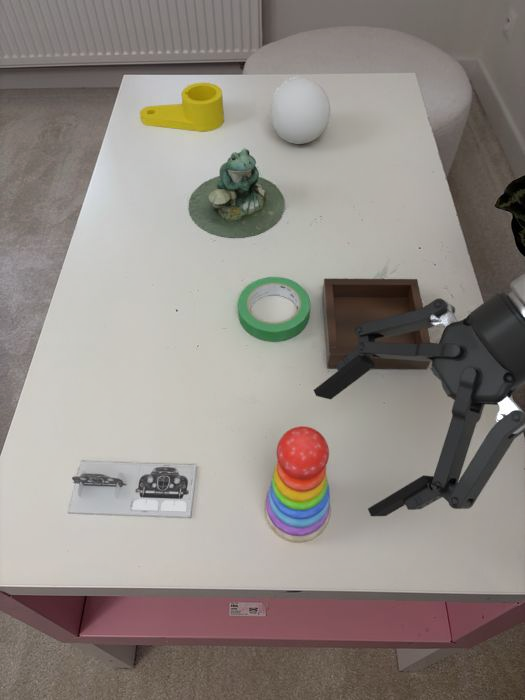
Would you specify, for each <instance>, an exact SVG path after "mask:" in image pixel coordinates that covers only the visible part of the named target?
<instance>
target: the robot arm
mask: <svg viewBox="0 0 525 700" xmlns="http://www.w3.org/2000/svg"><path fill="white" fill-rule="evenodd" d="M510 289H511V291H510V292H509V293H507V292H506V291H502V292H501V291H498V292H497V293H496V294H494V295H493V296H490V297H489V298H488V299H487V300H486V301H483V303H481V304H480V305H479V306H477V307H476V308H475V309H474V310H472V311H471V312H470V313H469V314H468V315H467V316H466V317H465V318H464V319H461V320H458V318H457V317H456V315H455V314H456V308H455V306H453V305H452V304H450V303H449V302H448V301H446V300H444V299H443V298H436V299H434V300H432V301H430V302H429V303H428V304H426V305H424V306H423V308H421V309H419V310H415V311H411V312H407V313H403V314H399V315H395V316H391V317H387V318H383V319H379V320H375V321H371V322H367V323H363V324H359V325H357V326H356V327H355V330H354V332H355V334H356V335H357V336H358V345H357V347H356V349H355V350H353V351H352V352H351V353H349V354H348V355H347V356H346V357H344V358H343V359H342V360H341V361H339V362H338V364H337V366H336V367H337V371H336V372H334V374H332V375H331V376H329V377H327V379H325V380H324V381H323V382H322V383H320V385H318V386H316V387H315V388H314V389H313V393H314V395H315V396H316V397H319V398H323V399H327V400H332V399H333V398H335V397H336V396H338V395H339V394H340V393H342V392H343V391H345V390H346V389H347V388H348V387H349V386H351V385H352V384H353V383H355V382H356V381H357V380H359V379H360V378H361V377H363V376H364V375H365V374H367V373H368V372H369V371H371V370H373V369H372V368H373V367H374V366H375V364H374V362H373V360H371V359H370V358H371V357H373V358H375V359H377V358H387V359H402V360H416V361H428V362H430V363H431V368H430V371H431V372H432V374H433V375H434V376H435V377H436V378H437V379H438V380H439V381H440V383H441V386H442V390H443V391H444V393H445V395H446V396H447V397H448V398H451V399H452V400H453V405H452V408H451V414H452V416H451V419H450V422H449V426H448V429H447V432H446V435H445V439H444V442H443V445H442V447H441V452H440V454H439V457H438V461H437V463H436V464H437V465H436V467H435V471H434V474H433V475H425V474H424V475H422V476H420V477H418V478H416V479H414V480H413V481H411V482H410V483H408V484H406V485H405V486H403V487H401V488H400V489H398V490H396V491H395V492H393V493H391V494H390V495H389V496H387V497H384V498H383V499H382V500H379V501H378V502H376V503H375V504H373V505H371V506H370V507H368V508H367V511H368V513H369V515H370V517H387V516H389V515H390V514H392V513H393V512H395V511H397V510H399V509H401V508H402V507H404V506H405V507H406V509H407V510H408V511H412V510H413V511H416V510H422V509H424V508H426V507H428V506H429V505H431V504H433V503H434V502H436V501H438V500H440V499H444V500H445V501H446V502H447V503H448V505H449V507H450V508H452V509H454V510H469V509H471V508H472V507H473V506H474V505H475V503H476V501H477V500H478V498H479V496H480V495H481V493H482V492H483V490H484V488H485V487H486V485H487V484H488V482H489V481H490V478H491V477H492V476H493V474H494V472H495V471H496V469H497V468H498V466H499V465H500V463H501V462H502V459H503V458H504V457H505V455H506V453H507V452H508V450H509V449H510V447H511V445H512V444H513V442H514V440H515V439H516V438H518V437H520V435H522V434H524V432H525V411H524V410H523V409H522V408H521V407H520V406H519V404H517V403H516V402H515V400H514V399H513V398H512V396H513V394H514V393H515V391H516V390H517V389H519V388H520V387H521V386H523V385H525V272H524V273H522V274H521V275H519V276H518V277H517V278H515V279H514V280H512V281H511V282H510ZM433 327H436V328H438V329H439V328H444V329H443V331H442V334H441V336H440V339H439V341H438V343H434V342H433V343H432V342H430V343H418V344H411V343H389V342H375V340H377V339H381V338H386V337H390V336H395V335H399V334H404V333H408V332H413V331H417V330H422V329H426V328H428V329H430V328H433ZM485 405H491V406H492V405H494V406H498V407H499V410H498V412H497V413H496V415H495V421H496V423H495V424H494V425H493V426H492V428H491V429H490V430H489V432H488V433H487V434H486V436H485V438H484V439H483V440H482V443H481V444H480V446H479V448H478V449H477V450H476V452H475V454H474V456H473V457H472V459H471V460H470V462H469V464H468V466H467V467H466V469H465V470H464V472H463V474H462V471H463V468H464V464H465V462H466V458H467V455H468V452H469V448H470V445H471V442H472V439H473V436H474V433H475V429H476V425H477V423H479V421H480V420H481V418H482V415H483V412H484V408H485Z"/></svg>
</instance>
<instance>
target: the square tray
mask: <svg viewBox="0 0 525 700" xmlns="http://www.w3.org/2000/svg"><path fill="white" fill-rule="evenodd" d="M321 295H322V309H323V324H324V341H325V355H326V356H325V357H326V369H327V370H328V369H331V370H332V369H334V370H335V369H337V367H336V366H337V364H338V362H339V361H341V360H342V359H343V358H344V357H346V356H347V355H348V354H349V353H351V352H352V351H353V350H355V349H356V347H357V345H358V336H357V335H356V334H355V332H354V330H355V327H356V326H357V325H359V324H363V323H367V322H371V321H375V320H379V319H383V318H387V317H391V316H395V315H399V314H403V313H407V312H411V311H415V310H419V309H421V308H423V307H424V306H423V305H424V304H423V299H422V295H421V291H420V286H419V281H418V279H417V278H324V279H323V285H322V294H321ZM375 342H389V343H411V344H418V343H431V338H430V334H429V328H426V329H422V330H417V331H413V332H408V333H404V334H399V335H395V336H390V337H386V338H381V339H377V340H375ZM370 359H371V360H373V362H374V364H375V366H374V367H373V368H372V369H371V370H428V368H429V365H430V363H431V362H428V361H416V360H402V359H387V358H377V359H375V358H373V357H371V358H370ZM337 370H338V369H337Z"/></svg>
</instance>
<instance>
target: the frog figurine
mask: <svg viewBox="0 0 525 700" xmlns="http://www.w3.org/2000/svg"><path fill="white" fill-rule="evenodd" d="M256 164H257V161H256V158H255V157H254V156H252V155H251V154H250V150H249V149H247V148H246V147H244V148H242V149H241V150H240V152H237V151H234V152H232V153H231V154H230V157H229V158H227V161H226V162H225V163H223V164H221V166H220V168H219V175H217V176H215V177H213V178H210V179H208V180H207V181H203V183H201V184H200V185H198V187H196V189H195V190H194V191H193V192H192V193H191V195H190V197H189V199H188V213H189V216H190V218H191V219H192V221H193V222H194V224H196V225H197V227H199V228H200V229H202V230H203V231H205V232H207V233H209V234H212V235H215V236H218V237H221V238H222V237H223V238H230V239H232V238H233V239H241V238H249V237H252V236H257V235H259V234H262V233H264V232H266V231H267V230H269V229H271V228H272V227H274V226H275V225H276V224H277V223H278V222H279V221H280V219H281V218H282V216H283V214H284V213H285V212H284V211H285V207H286V202H285V198H284V194H283V193H282V192H281V190H280V189H279V188H278V187H277V186H276V185H275V184H274V183H273V182H271V181H270V180H268V179H266V178H265V177H262V176H260V171H259V170H258V167H257V166H256Z"/></svg>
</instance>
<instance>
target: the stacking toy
mask: <svg viewBox="0 0 525 700" xmlns="http://www.w3.org/2000/svg"><path fill="white" fill-rule="evenodd" d="M329 457H330V449H329V445H328V443H327V441H326V439H325V437H324V436H323V434H322V433H320V431H318V430H317V429H315V428H312V427H310V426H306V425H305V426H303V425H301V426H295V427H292V428H290V429H289V430H287V431H286V432H285V433H283V434H282V436H281V438H280V439H279V440H278V443H277V446H276V458H277V461H276V464H275V466H274V469H273V473H272V476H271V477H272V478H271V483H270V485H269V489H268V492H267V493H266V498H265V502H264V516H265V519H266V521H267V524H268V525H269V527H270V529H271V530H272V531H273V532H274V533H275V535H276V536H278V537H279V538H281V539H282V540H285V541H286V542H291V543H295V544H297V543H298V544H301V543H307V542H310V541H313V540H315V539H317V538H318V537H320V536H321V534H322V533H323V532H324V531H325V530H326V528H327V526H328V524H329V522H330V519H331V514H332V513H331V512H332V507H331V495H330V494H331V493H330V486H329V482H328V477H327V464H328V463H329Z"/></svg>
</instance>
